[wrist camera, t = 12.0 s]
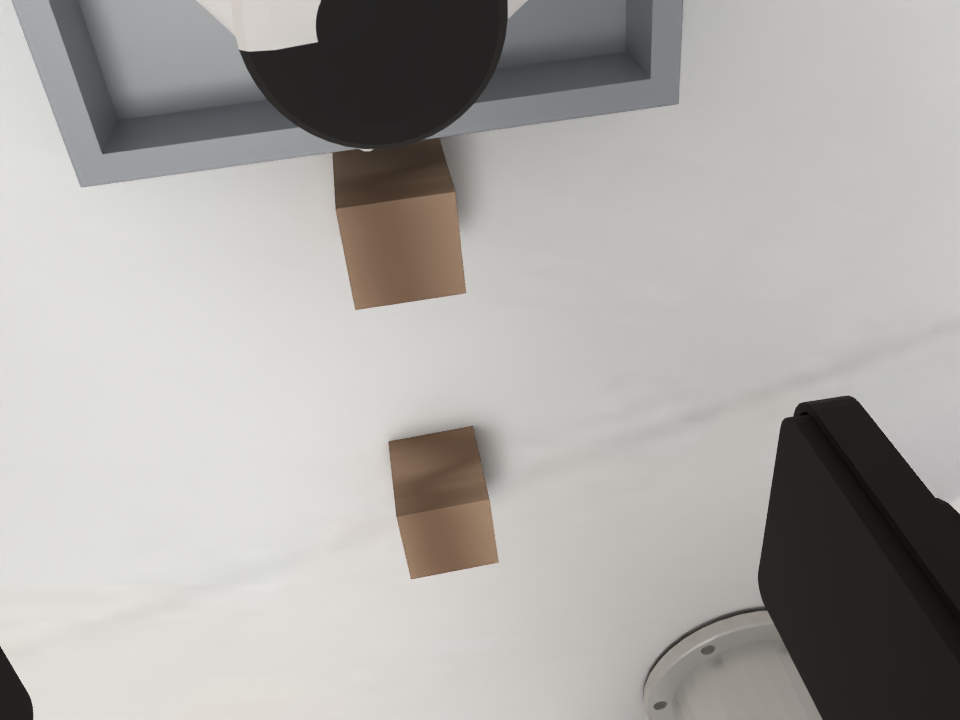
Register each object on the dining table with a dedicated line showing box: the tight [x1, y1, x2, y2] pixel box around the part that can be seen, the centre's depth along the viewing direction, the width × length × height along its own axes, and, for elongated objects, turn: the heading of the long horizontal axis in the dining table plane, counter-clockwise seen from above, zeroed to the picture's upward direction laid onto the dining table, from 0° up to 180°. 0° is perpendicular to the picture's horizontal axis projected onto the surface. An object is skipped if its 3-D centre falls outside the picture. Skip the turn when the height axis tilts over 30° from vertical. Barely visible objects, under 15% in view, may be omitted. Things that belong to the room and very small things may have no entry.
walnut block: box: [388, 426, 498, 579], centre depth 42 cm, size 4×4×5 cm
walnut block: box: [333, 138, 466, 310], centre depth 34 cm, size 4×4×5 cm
